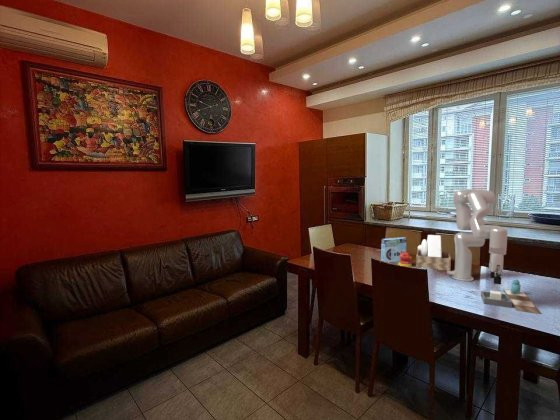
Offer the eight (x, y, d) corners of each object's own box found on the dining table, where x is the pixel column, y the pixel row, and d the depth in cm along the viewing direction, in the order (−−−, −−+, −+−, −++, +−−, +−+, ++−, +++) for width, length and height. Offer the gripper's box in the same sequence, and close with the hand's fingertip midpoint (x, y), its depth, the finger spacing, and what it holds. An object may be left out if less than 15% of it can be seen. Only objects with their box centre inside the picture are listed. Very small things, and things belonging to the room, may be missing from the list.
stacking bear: (411, 281, 199) (412, 255, 197) (395, 279, 204) (396, 253, 202) (414, 276, 208) (414, 251, 206) (398, 274, 213) (399, 250, 212)
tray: (483, 303, 162) (484, 298, 161) (480, 296, 172) (480, 291, 172) (511, 307, 156) (511, 302, 156) (506, 299, 167) (506, 294, 167)
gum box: (402, 265, 236) (402, 236, 234) (406, 267, 231) (407, 238, 229) (380, 267, 231) (380, 238, 229) (384, 269, 226) (385, 239, 224)
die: (490, 301, 164) (491, 293, 164) (489, 298, 168) (490, 290, 168) (501, 302, 162) (502, 294, 161) (500, 299, 166) (500, 291, 165)
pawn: (511, 293, 175) (512, 280, 174) (510, 291, 178) (511, 278, 178) (520, 294, 172) (521, 281, 172) (519, 292, 176) (520, 279, 175)
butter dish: (441, 257, 223) (417, 255, 229) (438, 264, 238) (416, 262, 244) (440, 235, 230) (418, 234, 236) (438, 243, 245) (417, 242, 251)
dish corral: (415, 267, 231) (416, 255, 230) (417, 260, 251) (417, 249, 250) (450, 270, 220) (450, 258, 219) (448, 263, 241) (449, 252, 240)
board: (516, 310, 153) (516, 309, 153) (503, 289, 181) (503, 289, 181) (541, 314, 148) (541, 313, 148) (524, 292, 177) (524, 292, 177)
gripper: (486, 246, 172) (485, 275, 174) (491, 253, 157) (489, 285, 159) (502, 247, 169) (500, 277, 171) (509, 255, 154) (507, 287, 156)
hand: (495, 281), depth 165 cm, fingers open, 9 cm apart
